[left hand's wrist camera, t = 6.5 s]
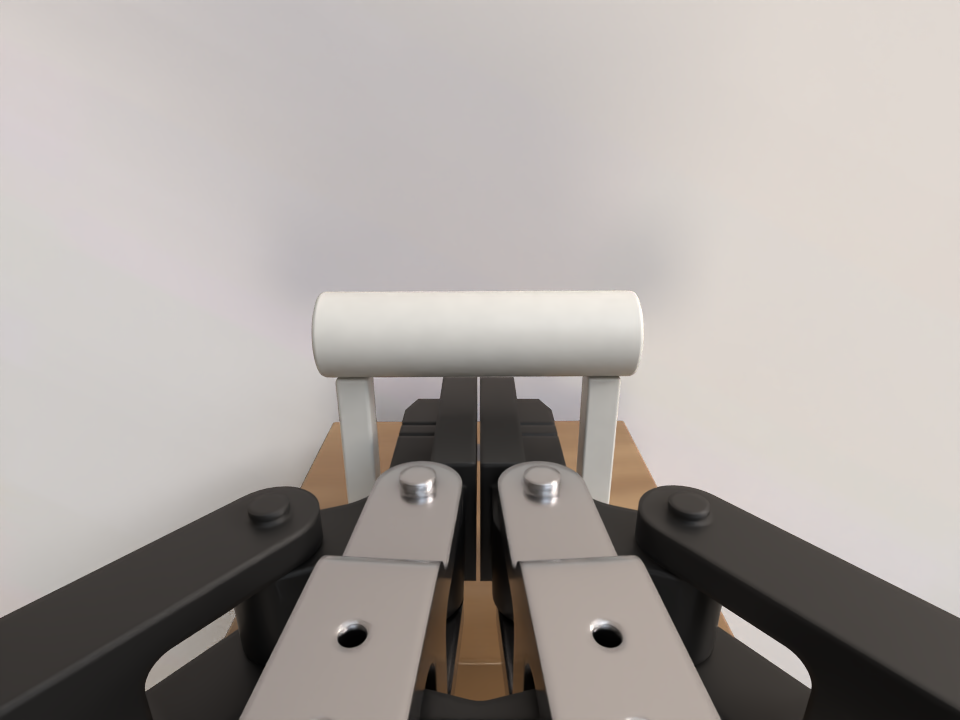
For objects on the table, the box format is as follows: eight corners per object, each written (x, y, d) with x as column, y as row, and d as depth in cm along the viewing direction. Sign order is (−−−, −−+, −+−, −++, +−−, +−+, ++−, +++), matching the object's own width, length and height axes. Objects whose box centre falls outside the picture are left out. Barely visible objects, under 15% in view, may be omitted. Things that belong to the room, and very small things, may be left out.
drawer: (312, 234, 16) (130, 339, 8) (642, 232, 16) (822, 336, 8) (371, 768, 24) (315, 1100, 16) (589, 767, 24) (647, 1098, 16)
